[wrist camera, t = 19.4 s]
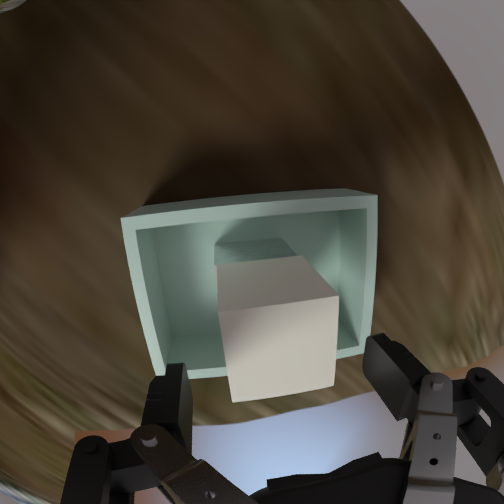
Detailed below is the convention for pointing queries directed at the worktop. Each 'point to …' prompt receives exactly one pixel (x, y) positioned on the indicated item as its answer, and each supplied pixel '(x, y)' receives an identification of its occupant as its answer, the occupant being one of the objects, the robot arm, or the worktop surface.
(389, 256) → the worktop surface
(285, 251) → the steel block
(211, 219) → the tote
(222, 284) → the cream box
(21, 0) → the pitcher
